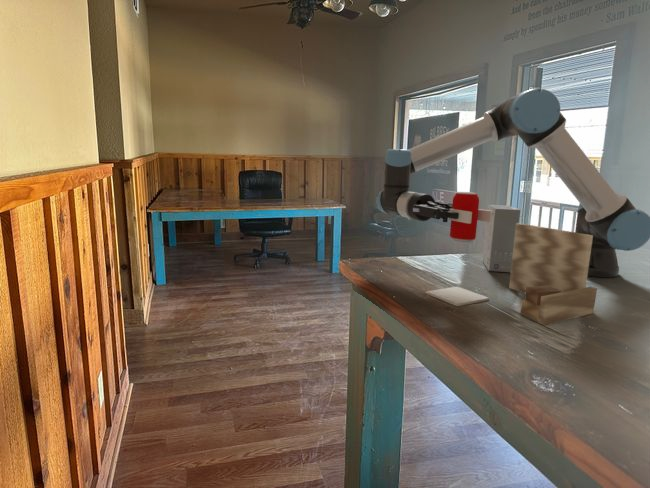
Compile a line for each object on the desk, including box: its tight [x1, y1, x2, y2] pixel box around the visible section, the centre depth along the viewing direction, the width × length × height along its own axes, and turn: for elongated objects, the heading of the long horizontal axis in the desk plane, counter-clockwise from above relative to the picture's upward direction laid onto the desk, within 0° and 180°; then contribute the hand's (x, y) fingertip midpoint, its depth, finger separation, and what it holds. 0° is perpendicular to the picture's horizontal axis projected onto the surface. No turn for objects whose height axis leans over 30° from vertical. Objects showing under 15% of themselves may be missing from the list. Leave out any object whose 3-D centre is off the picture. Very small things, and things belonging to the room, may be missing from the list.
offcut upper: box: [524, 286, 561, 305], centre depth 103 cm, size 4×6×3 cm, turn 104°
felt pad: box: [425, 286, 490, 307], centre depth 115 cm, size 11×11×1 cm
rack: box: [508, 222, 598, 326], centre depth 110 cm, size 23×18×18 cm
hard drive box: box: [482, 204, 522, 274], centre depth 147 cm, size 16×8×20 cm, turn 168°
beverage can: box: [449, 191, 480, 243], centre depth 111 cm, size 6×6×12 cm
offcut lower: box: [520, 299, 540, 321], centre depth 103 cm, size 5×7×4 cm
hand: (480, 217), depth 107 cm, fingers closed on beverage can, 6 cm apart
